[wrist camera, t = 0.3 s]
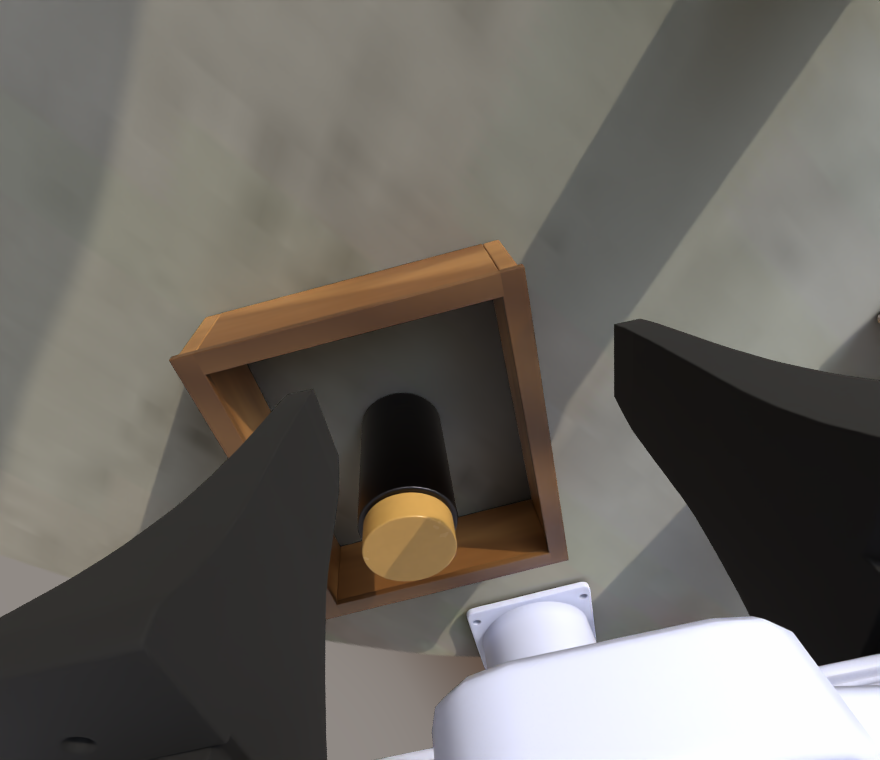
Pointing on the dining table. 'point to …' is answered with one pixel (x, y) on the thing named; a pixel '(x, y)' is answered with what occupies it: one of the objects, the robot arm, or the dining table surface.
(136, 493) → the dining table surface
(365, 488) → the pepper shaker
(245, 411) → the open wooden box
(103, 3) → the dining table surface
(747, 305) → the dining table surface
